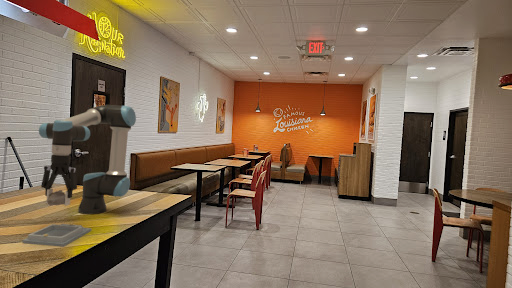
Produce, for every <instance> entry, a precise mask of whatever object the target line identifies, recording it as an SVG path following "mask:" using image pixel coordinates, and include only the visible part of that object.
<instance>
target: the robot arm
mask: <svg viewBox="0 0 512 288" xmlns="http://www.w3.org/2000/svg"><path fill="white" fill-rule="evenodd" d="M136 121H137V115H136V112H135V110H134V109H133V107H131V106H129V105H118V104H117V105H116V104H115V105H114V104H104V105H103V104H102V105H98V106H95V107H94V106H93V107H92V108H89V109H87V110H86V111H85V112H83V113H79V114H77V115H74V116H71V117H68V118H64V119H61V120H57V119H56V120H54V121H53V122H52V123H51V122H44V123H41V124H40V126H39V128H38V134H39V135H40V137H41V138H43V139H48V140H52V143H51V156H50V157H51V158H50V162H51V163H50V165H45V166H43V169H44V170H43V171H44V172H43V177H42V181H41V184H40V185H41V186H40V187H41V188H43V189H45V193H44V195H45V197H46V204H47V205H49V204H48V203H47V200H48V197H49V196H50V195H51V193H54V189H53V185H54V183H55V180H56V179H57V177H58V176H61V177H62V178H63V182H64V185H65V187H66V190H65V205H64V206H69V205H71V198H73V191H76V190H77V189H78V184H77V183H78V182H77V175H76V174H77V168H76V167H71V165H70V164H71V154H72V142H83V141H87V140H89V139H90V136H91V130H90V129H89V128H88V127H89V126H92V125H93V126H95V125H96V126H97V125H99V124H100V125H101V124H103V125H104V124H105V125H109V128H110V129H111V130H112V131H111V144H110V155H109V164H108V165H109V166H108V167H109V168H108V171H107V172H101V171H99V172H91V173H90V172H89V173H86V174H84V175H83V180H82V197H81V201H80V202H79V206H78V210H77V212H78V213H79V214H86V215H95V214H101V213H105V212H106V211H107V204H106V200H105V196H110V197H115V198H116V197H120V198H121V197H124V196H125V195H127V193H128V192H129V190H130V187H131V180H130V178H129V177H128V174H127V172H126V170H125V168H126V161H127V160H126V157H127V155H126V154H127V147H128V135H129V131H131V130H132V127H134V125H136Z"/></svg>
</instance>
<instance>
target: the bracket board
mask: <svg viewBox="0 0 512 288" xmlns="http://www.w3.org/2000/svg"><path fill="white" fill-rule="evenodd" d="M91 232H92V228H89V227H84V226H83V225H81V224H74V223H72V222H71V223H61V224H55V223H53V224H52V223H51V224H49V225H47V226H45V227H42V228H40V229H38V230H36V231H34V232H31V233H29V234H28V235H27V238H24V239H22V244H29V245H40V246H53V247H63V248H64V247H65V246H68V245H69V244H70V243H71V244H72V243H73V242H74V241H76V240H77V239H79V238H82V237H83V236H85V235H87V234H88V233H91Z"/></svg>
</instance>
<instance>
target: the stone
mask: <svg viewBox="0 0 512 288" xmlns="http://www.w3.org/2000/svg"><path fill="white" fill-rule="evenodd" d="M65 192H66V191H65ZM65 192H63V190H61V189H60V190H57V191H53V193H51V195H50V196H49V197H48V200H47V199H46V201H47V203H48V204H47V205H49V206H51V207H52V206H61V205H63V206H65Z"/></svg>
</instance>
